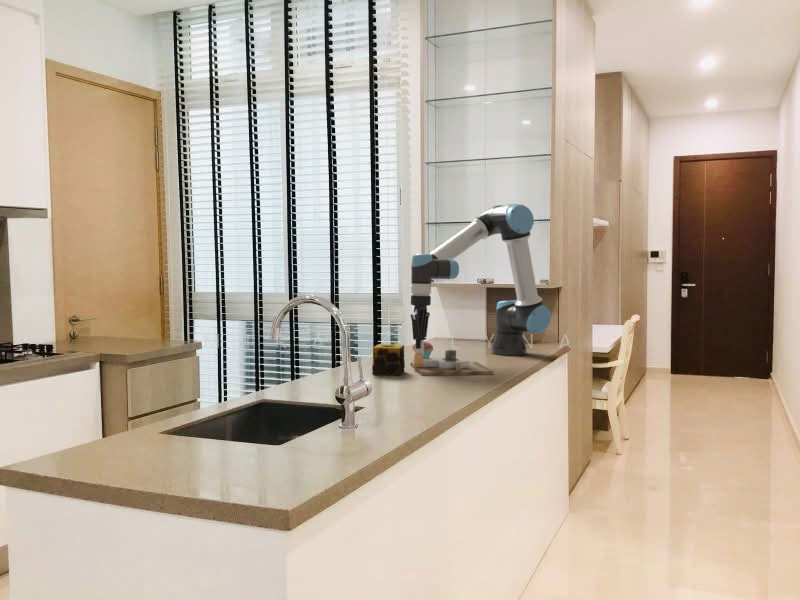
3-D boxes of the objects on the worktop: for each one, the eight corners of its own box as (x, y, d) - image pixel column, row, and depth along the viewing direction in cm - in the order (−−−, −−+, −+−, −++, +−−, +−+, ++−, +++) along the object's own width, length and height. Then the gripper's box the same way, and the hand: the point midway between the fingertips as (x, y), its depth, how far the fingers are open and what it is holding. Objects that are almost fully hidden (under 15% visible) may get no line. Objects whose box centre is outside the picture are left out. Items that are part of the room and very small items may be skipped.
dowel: (460, 370, 262) (461, 361, 262) (462, 371, 260) (462, 362, 260) (455, 370, 262) (455, 362, 261) (456, 371, 260) (457, 362, 259)
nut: (461, 363, 276) (461, 351, 275) (468, 368, 265) (468, 355, 265) (410, 364, 272) (410, 351, 272) (416, 369, 262) (416, 355, 261)
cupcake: (433, 360, 291) (433, 331, 290) (412, 360, 291) (412, 330, 290) (432, 357, 299) (433, 328, 299) (412, 357, 300) (412, 328, 299)
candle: (399, 376, 255) (400, 348, 254) (371, 375, 257) (372, 347, 256) (405, 371, 265) (405, 344, 264) (378, 370, 267) (378, 343, 266)
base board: (476, 364, 283) (476, 346, 282) (492, 374, 261) (493, 354, 260) (410, 365, 278) (410, 346, 278) (422, 375, 257) (422, 355, 256)
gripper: (418, 293, 280) (417, 354, 282) (404, 295, 269) (403, 358, 270) (436, 294, 277) (435, 355, 279) (423, 296, 265) (421, 359, 267)
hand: (419, 356), depth 274 cm, fingers closed
